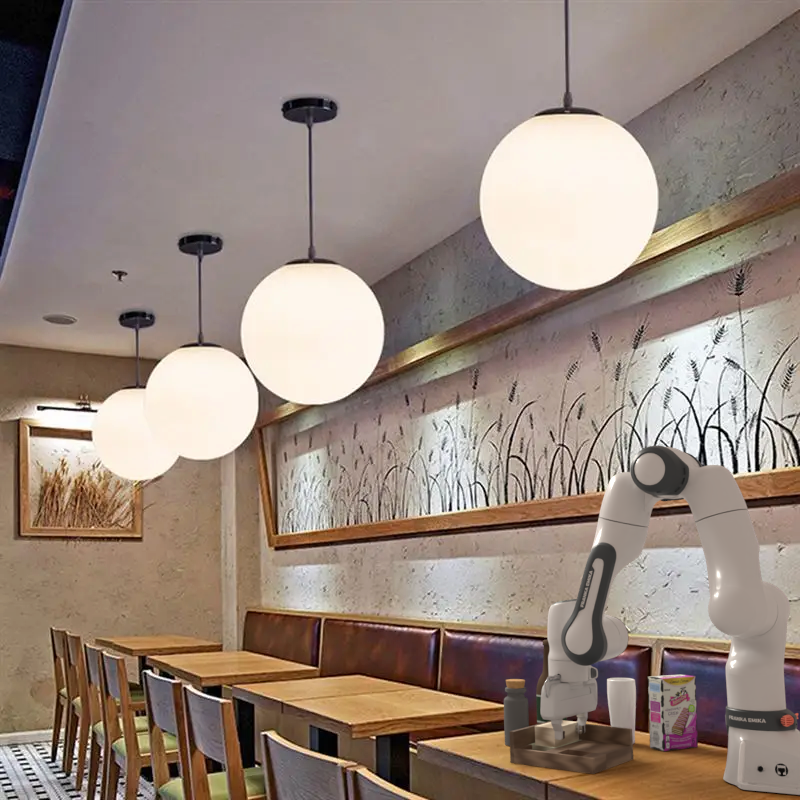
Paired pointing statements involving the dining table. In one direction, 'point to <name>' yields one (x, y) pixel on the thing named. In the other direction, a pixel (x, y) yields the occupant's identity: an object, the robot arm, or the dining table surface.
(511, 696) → the bottle
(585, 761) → the brown compartment tray
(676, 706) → the candy bar box
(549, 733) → the cream rectangular block
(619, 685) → the drinking glass
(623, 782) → the dining table surface
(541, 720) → the beer bottle
